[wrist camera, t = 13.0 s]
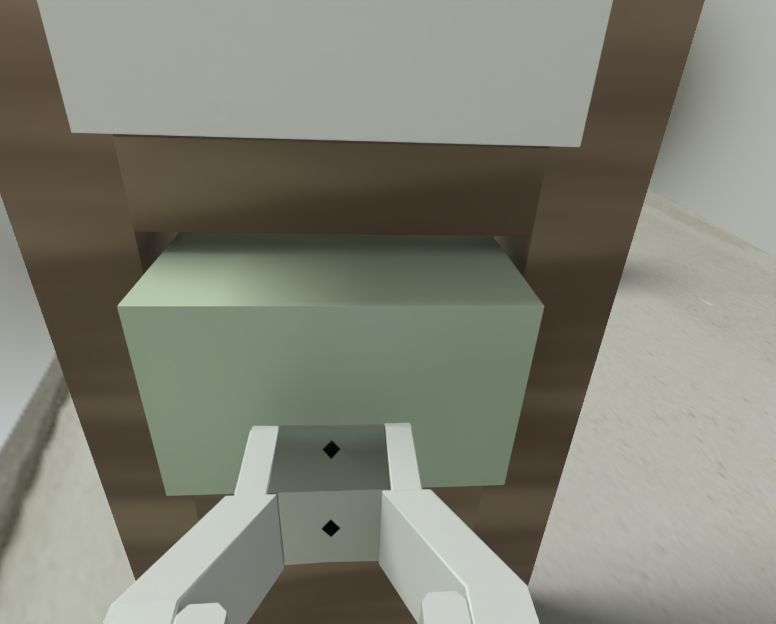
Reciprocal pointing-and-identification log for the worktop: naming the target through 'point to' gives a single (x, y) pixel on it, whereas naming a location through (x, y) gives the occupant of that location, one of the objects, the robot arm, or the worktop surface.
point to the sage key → (331, 347)
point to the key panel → (333, 216)
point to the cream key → (330, 68)
